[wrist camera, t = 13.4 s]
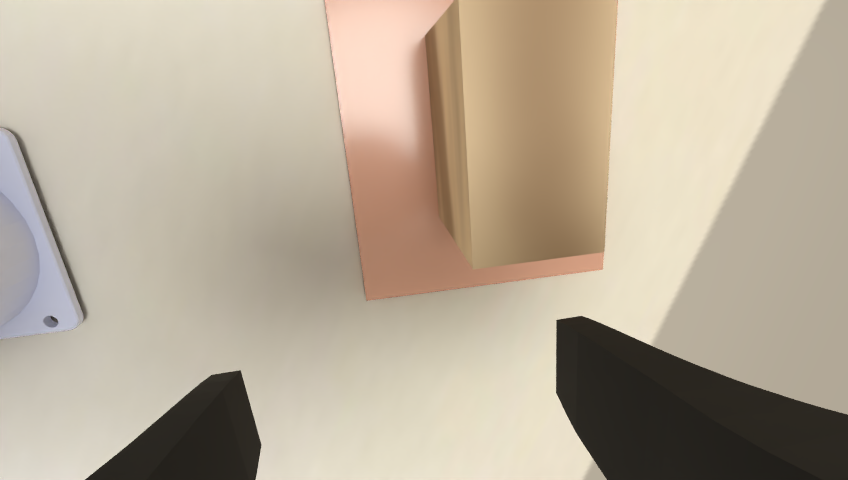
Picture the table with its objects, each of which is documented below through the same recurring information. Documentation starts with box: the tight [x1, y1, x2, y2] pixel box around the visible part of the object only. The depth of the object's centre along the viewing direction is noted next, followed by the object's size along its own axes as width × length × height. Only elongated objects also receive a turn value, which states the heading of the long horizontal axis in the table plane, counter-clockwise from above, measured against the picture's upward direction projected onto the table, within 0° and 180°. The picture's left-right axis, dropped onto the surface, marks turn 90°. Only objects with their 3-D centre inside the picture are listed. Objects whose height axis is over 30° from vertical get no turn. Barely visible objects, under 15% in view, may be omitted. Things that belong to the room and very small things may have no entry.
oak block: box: [425, 0, 617, 269], centre depth 14 cm, size 4×7×6 cm, turn 5°
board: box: [325, 0, 618, 301], centre depth 17 cm, size 11×13×1 cm
